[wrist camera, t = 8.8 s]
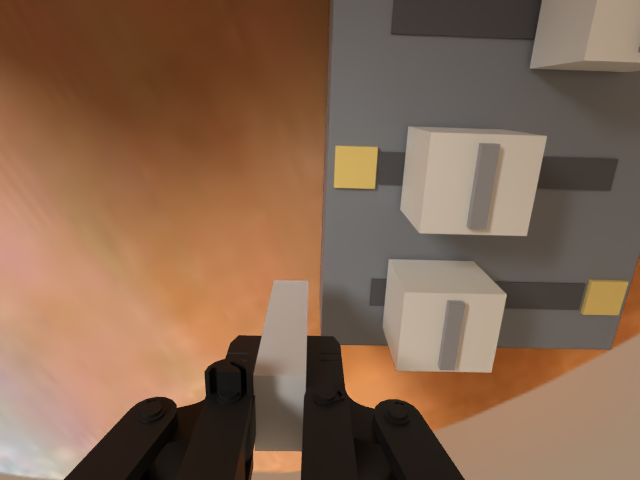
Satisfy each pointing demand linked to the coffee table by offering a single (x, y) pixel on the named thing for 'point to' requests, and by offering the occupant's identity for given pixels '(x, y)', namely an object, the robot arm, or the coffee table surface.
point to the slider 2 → (441, 316)
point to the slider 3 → (588, 35)
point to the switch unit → (481, 113)
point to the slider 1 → (470, 180)
